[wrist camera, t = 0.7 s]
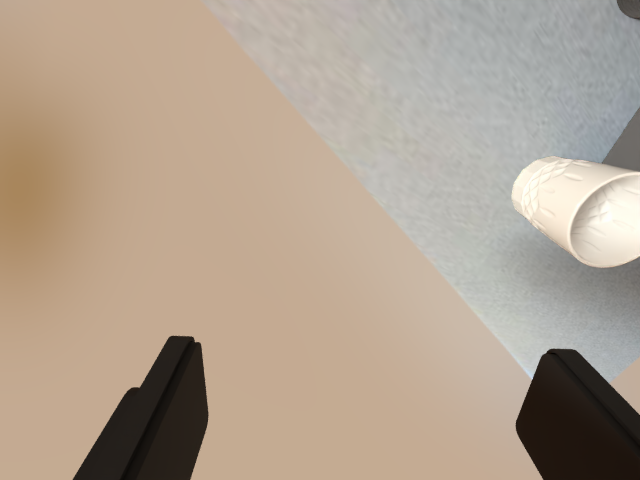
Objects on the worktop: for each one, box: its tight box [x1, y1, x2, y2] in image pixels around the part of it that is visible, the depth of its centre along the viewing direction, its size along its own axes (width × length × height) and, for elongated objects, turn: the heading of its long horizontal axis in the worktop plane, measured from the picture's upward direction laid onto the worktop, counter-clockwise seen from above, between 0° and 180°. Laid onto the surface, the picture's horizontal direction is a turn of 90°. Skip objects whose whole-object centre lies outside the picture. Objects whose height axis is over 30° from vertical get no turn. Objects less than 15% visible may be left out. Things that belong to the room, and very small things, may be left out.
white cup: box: [511, 156, 640, 268], centre depth 32 cm, size 8×8×10 cm
